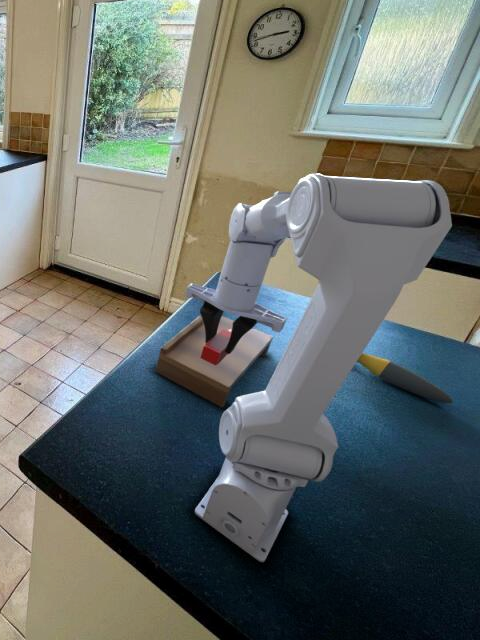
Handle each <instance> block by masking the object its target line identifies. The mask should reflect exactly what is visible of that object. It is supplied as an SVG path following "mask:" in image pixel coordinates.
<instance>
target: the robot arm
mask: <svg viewBox="0 0 480 640" xmlns="http://www.w3.org/2000/svg"><path fill="white" fill-rule="evenodd" d="M452 226H453V223H452V215H451V210H450V201H449V197H448V195H447V193H446V190H445V189H444V188H443V186H442V185H441V184H440V183H438V182H436V181H433V180H427V179H426V180H425V179H421V180H415V181H413V180H397V179H381V178H368V177H367V178H365V177H364V178H363V177H349V176H332V175H323V174H321V173H310V174H308V175H306V176H305V177H302V178H300V179H299V180H298V182H297V184H296V185H295V186H294V188H293V189H292V191H286V190H285V191H282V190H277V191H276V192H274V193H273V196H270V197H269V198H267V199H263V200H261V201H260V202H258V203H256V204H253V205H251V204H246V203H242V202H238V204H237V205H236V206H234V208H233V210H232V213H231V216H230V219H229V226H228V237H229V240H230V241H229V244H228V248H227V250H226V253H225V254H226V255H225V257H224V262H223V263H222V264H223V265H222V268H221V271H220V275H219V279H218V281H217V285H216V289H215V288H211V287H206V286H201V285H198V284H195V283H190V284H189V285H187V286H186V289H185V293H184V297H186V298H189V299H192V298H194V299H196V300H198V301H201V302H203V304H202V306H201V307H199V314H200V315H201V316H202V319H203V322H204V326H205V334H206V341H205V343H207V342H208V341H209V340H210V339H212V338H213V337H214V336H215V335H216V334H217V330H218V325H219V322H220V319H221V317H222V316H223V314H224V312H225V313H228V314H231V315H235V316H238V317H237V318H235V320H233V321H234V322H233V325H232V332H231V336H230V340H229V342H228V344H227V348H226V353H228V354H230V353H231V352H232V351H233V350H234V348H235V346H236V345H237V343H238V342H239V340H240V339H241V338H242V336H243V335H244V334H246V333H247V332H248V331H249V330H251V329H252V328H253V329H254V328H255V326H256V325H257V324H261V325H263V326H266V327H268V328H270V329H271V330H272V331H273V332H276V333H279V334H280V332H281V331H283V329H284V328H285V325H286V322H287V320H288V317H285V316H283V315H280V314H279V313H276V312H274V311H272V310H270V309H269V308H266V307H265V306H263V305H262V304H259V303H257V299H258V297H259V293H260V291H261V287H262V285H263V282H264V279H265V276H266V273H267V270H268V267H269V264H270V262H271V259H272V258H275V257H276V256H277V253H278V251H279V248H280V247H281V246H282V245H283V244H284V242H285V241H286V238H290V241H291V247H292V250H293V254H294V257H295V261H296V265H297V267H298V268H299V269H301V270H302V271H304V272H305V273H307V274H308V275H310V276H312V277H314V278H315V279H317V281H318V284H317V286H316V288H315V290H314V292H313V294H312V296H311V298H310V300H309V302H308V304H307V306H306V308H305V310H304V312H303V314H302V316H301V318H300V320H299V322H298V324H297V325H296V328H295V330H294V332H293V334H292V336H291V338H290V339H289V342H288V344H287V346H286V348H285V350H284V351H283V354H282V356H281V358H280V360H279V362H278V364H277V365H276V367H275V370H274V372H273V374H272V376H271V377H270V380H269V381H268V384H267V386H266V387H265V389H264V390H261V391H257V392H253V393H247V394H243V395H240V396H236V397H235V399H234V402H232V404H231V405H230V406H229V407H228V408H227V409H226V410H224V411H223V412H222V415H221V417H220V421H219V426H218V440H219V446H220V450H221V452H222V454H223V455H224V456H225V459H224V461H223V464H222V466H221V469H220V472H219V474H218V476H217V478H216V479H215V481H214V482H213V484H212V485H211V486H210V487H209V489H208V490H207V492H206V493H205V494H204V497H203V498H202V499H201V501H200V502H199V503H198V505H197V506H196V507H195V509H194V514H195V515H196V516H197V517H199V518H200V519H201V520H202V521H204V522H205V523H206V524H208V525H209V526H211V527H212V528H213V529H215V530H216V531H217V532H219V533H220V534H222V535H223V537H225V538H227V539H228V540H230V541H231V542H232V543H234V544H235V545H237V546H238V547H239V548H240V549H242V550H243V551H244V552H246V553H247V554H249V555H250V556H251V557H252V558H254V559H255V560H257V561H258V562H260V563H264V562H265V561H266V560H267V557H268V555H269V554H270V551H271V550H272V547H273V546H274V543H275V541H276V540H277V538H278V535H279V533H280V531H281V529H282V528H283V527H282V526H283V525H284V523H285V521H286V519H287V517H288V515H289V511H288V509H287V507H288V505H289V503H290V501H291V500H292V497H293V495H294V494H295V492H296V489H297V487H300V488H301V487H302V488H306V486H307V485H308V482H309V481H312V482H315V483H318V482H319V483H320V482H322V481H324V480H325V479H326V477H328V476H329V474H330V472H331V471H332V469H333V468H332V467H333V463H334V456H335V454H336V451H337V450H338V448H339V444H338V443H339V442H338V437H337V435H336V432H335V430H334V427H333V425H332V423H331V422H330V420H329V419H328V417H327V416H326V415H325V414H324V413H325V412H326V410H327V409H328V407H329V406H330V404H331V402H332V401H333V399H334V398H335V396H336V395H337V393H338V392H339V390H340V388H341V387H342V386H343V384H344V382H345V381H346V379H347V378H348V377H349V374H350V372H351V371H352V370H353V368H354V366H355V365H356V363H358V361H357V360H358V359H359V357H360V356H361V354H362V353H364V351H365V349H366V348H367V346H368V345H369V344H370V342H371V340H372V339H373V337H374V336H375V334H376V332H377V331H378V329H379V328H380V326H381V324H382V323H383V321H384V320H385V318H386V317H387V316H388V314H389V312H390V310H391V309H392V308H393V306H394V304H396V301H397V299H398V297H400V296H399V295H400V294H401V292H402V289H403V288H404V285H407V284H411V283H412V282H415V281H417V280H418V278H419V276H421V274H422V272H424V269H425V268H426V267H427V265H428V263H429V262H430V261H431V259H432V257H433V256H434V254H435V252H436V251H437V250H438V249H439V247H440V245H441V243H442V242H443V240H444V239H445V237H446V236H447V234H449V231H451V229H452Z"/></svg>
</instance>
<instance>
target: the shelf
mask: <svg viewBox="0 0 480 640" xmlns="http://www.w3.org/2000/svg"><path fill="white" fill-rule="evenodd" d="M234 321H235V320H233V319H231V318H228V317H225V316H223V315H222V317H221V319H220V322H219V325H218V330H217V333H219V332H220V331H221V330H222V329H226V330H232V325H233V322H234ZM273 340H274V336H273V335H271V334H270V333H269V334H268V333H266V332H263V331H260V330H259V329H256V328H254V327H253V328H252V329H251V330H249V331H248V332H247V333H246V334H244V335H243V336H242V338H241V339H240V340H239V342H238V343H237V345H236V346H235V348H234V350H233V351H232V352H231V353H230V354H227V355H226V357H225V358H224V359H223V360H222V361H221V362H220V363H219V364H217V365H214V364H212V363H209V362H207V361H205V360H203V359H201V358H200V357H201V354H202V351H203V347H204V345H205V344H206V343H205V341H206V334H205V326H204V322H203V319H202V316H201V314H200V315H199V316H197V317H196V318H195V319H194V320H193V321H191V323H189V324H188V325H187V326H185V327H184V328H183V329H182V330H180V331H179V333H176V334H175V335H174V336H173V337H172V338H171V339H170V340H168V341H167V342H166V343H165V344H163V345H162V346H161V347H160V351H159V354H158V358H157V362H156V366H155V371H154V372H156V373H157V374H159V375H161V376H163V377H165V379H168V380H170V381H172V382H174V383H176V384H177V385H179V386H181V387H183V388H185V389H187V390H188V391H191V392H192V393H194V394H196V395H198V396H199V397H202V398H203V399H205V400H206V401H209V402H210V403H213V404H215V405H216V406H218V407H220V408H223V407H225V405H226V403H227V400H228V398H229V394H230V391H231V389H232V388H233V387H234V386H235V385H236V384H237V383H238V382H239V380H240V379H241V378H242V376H243V375H244V374H246V372H247V371H248V370H249V368H250V367H251V366H252V365H253V364H254V363H255V361H257V359H259V357H260V356H261V357H263V358H265V357H266V356H267V355H268V352H269V350H270V347H271V346H272V345H271V344H272V342H273Z"/></svg>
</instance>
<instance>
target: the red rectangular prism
mask: <svg viewBox="0 0 480 640" xmlns="http://www.w3.org/2000/svg"><path fill="white" fill-rule="evenodd" d="M231 332H232V330H226V329H222V330H221V331H220V332H219V333H217V334H216V335H215V336H214V337H213V338H212V339H210V340H209V341H208V342H207V343H206V344H205V345H204V347H203V351H202V354H201V357H200V358H201V359H203V360H205V361H207V362H209V363H212V364H214V365H217V364H219V363H220V362H221V361H222V360H223V359H224V358H225V357H226V355H227V354H228V353H226V348H227V344H228V342H229V340H230V336H231Z"/></svg>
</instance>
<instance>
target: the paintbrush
mask: <svg viewBox="0 0 480 640" xmlns="http://www.w3.org/2000/svg"><path fill="white" fill-rule="evenodd" d="M357 363H359V364H360V365H361V366H362V367H364V368H365V369H366V370H368V372H370V373H372V374H373V375H374V376H375V377H377V378H379V379H381V380H383V381H384V382H386V383H388V384H390V385H393V386H394V387H397V388H398V389H399V388H400V389H402V390H403V391H407V392H409V393H411V394H414V395H416V396H419V397H422V398H425V399H428V400H431V401H434V402H438V403H443V404H452V403H453V399H452V397H451V396H450V395H449V394H448V393H447V392H445V391H444V390H443V389H442V388H440V387H439V386H437V385H436V384H435V383H432V382H431V381H429V380H428V379H426V378H424V377H423V376H421V375H419V374H418V373H416V372H414V371H412V370H410V369H408V368H407V367H404V366H402V365H400V364H398V363H397V362H394V361H392V360H388V359H386V358H382V357H378V356H376V355H372V354H367V353H364V352H363V353H362V354H361V356H360V357H359V359H358V360H357Z"/></svg>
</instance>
